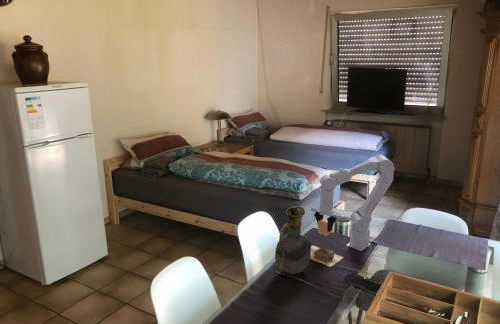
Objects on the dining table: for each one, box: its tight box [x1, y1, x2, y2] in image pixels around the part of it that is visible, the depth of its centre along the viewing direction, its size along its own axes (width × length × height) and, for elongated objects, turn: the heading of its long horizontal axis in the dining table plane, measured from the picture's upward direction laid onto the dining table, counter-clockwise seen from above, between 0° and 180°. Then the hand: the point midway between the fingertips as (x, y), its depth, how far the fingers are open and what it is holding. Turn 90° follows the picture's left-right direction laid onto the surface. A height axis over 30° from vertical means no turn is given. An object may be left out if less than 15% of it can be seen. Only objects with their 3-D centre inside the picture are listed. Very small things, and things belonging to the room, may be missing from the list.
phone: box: [342, 272, 383, 295], centre depth 157 cm, size 8×1×15 cm
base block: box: [314, 246, 335, 263], centre depth 175 cm, size 6×6×3 cm
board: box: [310, 245, 344, 268], centre depth 178 cm, size 11×16×1 cm
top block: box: [317, 217, 333, 237], centre depth 185 cm, size 4×4×6 cm
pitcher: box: [274, 205, 312, 279], centre depth 159 cm, size 11×19×30 cm, turn 146°
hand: (324, 229), depth 185 cm, fingers closed on top block, 4 cm apart
